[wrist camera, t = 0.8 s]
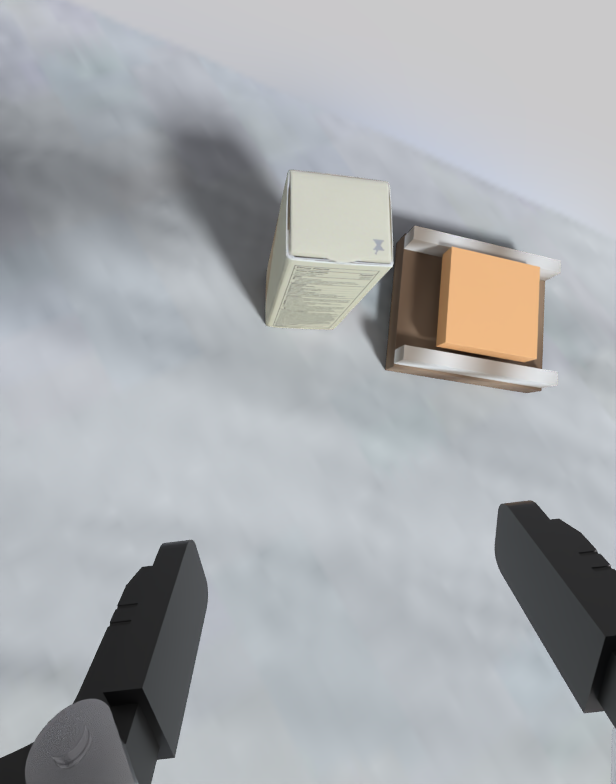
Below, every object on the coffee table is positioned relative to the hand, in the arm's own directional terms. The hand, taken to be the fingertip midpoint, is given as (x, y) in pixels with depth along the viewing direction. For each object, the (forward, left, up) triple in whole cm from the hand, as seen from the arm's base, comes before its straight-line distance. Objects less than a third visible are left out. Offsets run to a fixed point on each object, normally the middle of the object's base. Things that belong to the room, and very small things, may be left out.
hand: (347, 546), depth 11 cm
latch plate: (+13, +14, -14) cm, 24 cm away
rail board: (+13, +14, -17) cm, 25 cm away
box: (0, +13, -17) cm, 21 cm away
